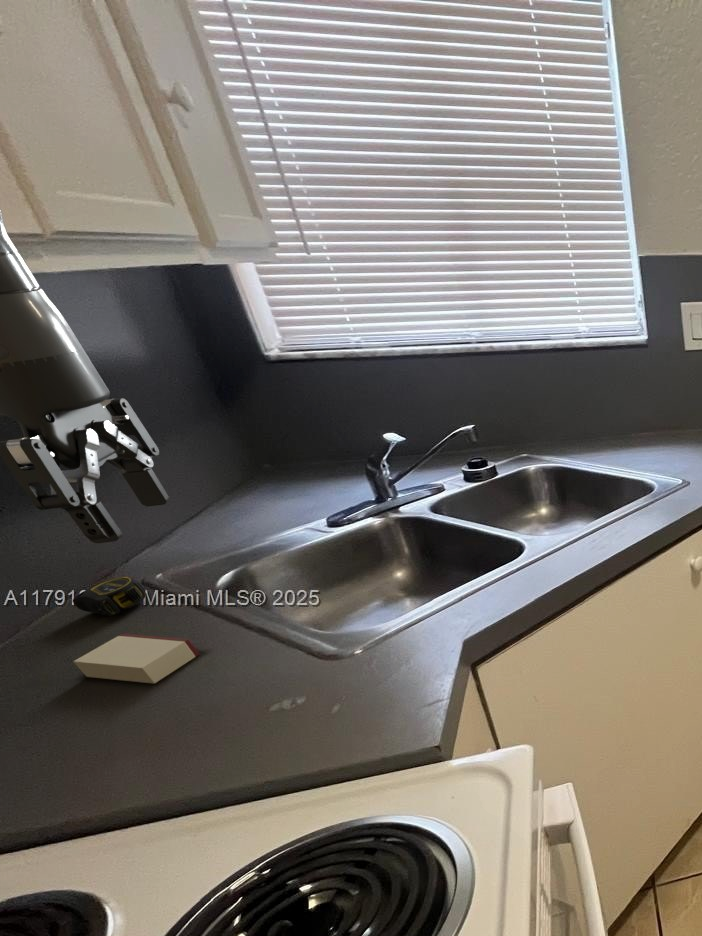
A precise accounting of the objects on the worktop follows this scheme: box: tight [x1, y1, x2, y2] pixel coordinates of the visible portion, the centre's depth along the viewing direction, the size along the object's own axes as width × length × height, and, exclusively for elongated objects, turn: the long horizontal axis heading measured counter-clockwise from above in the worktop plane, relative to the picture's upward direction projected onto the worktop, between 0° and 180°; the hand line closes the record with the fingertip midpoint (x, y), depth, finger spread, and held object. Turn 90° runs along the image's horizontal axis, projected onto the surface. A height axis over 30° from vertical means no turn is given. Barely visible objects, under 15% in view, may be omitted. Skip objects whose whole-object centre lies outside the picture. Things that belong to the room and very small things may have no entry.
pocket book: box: [73, 633, 200, 684], centre depth 82 cm, size 11×6×3 cm, turn 80°
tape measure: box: [72, 576, 147, 617], centre depth 95 cm, size 7×7×4 cm
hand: (134, 521), depth 63 cm, fingers open, 8 cm apart
